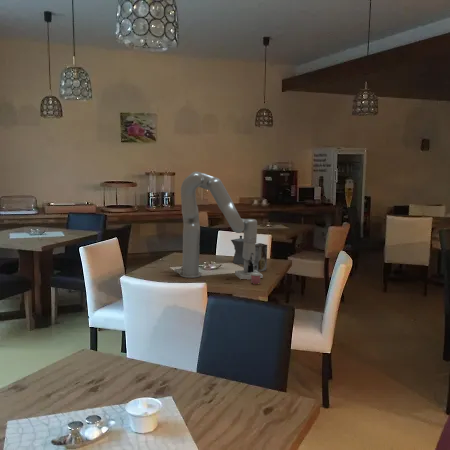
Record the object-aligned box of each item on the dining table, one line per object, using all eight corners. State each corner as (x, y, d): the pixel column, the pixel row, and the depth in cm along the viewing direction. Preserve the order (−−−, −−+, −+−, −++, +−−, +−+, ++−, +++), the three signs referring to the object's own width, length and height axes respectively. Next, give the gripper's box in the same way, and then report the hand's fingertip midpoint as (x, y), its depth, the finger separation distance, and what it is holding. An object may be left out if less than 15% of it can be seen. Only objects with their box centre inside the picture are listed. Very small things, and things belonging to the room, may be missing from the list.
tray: (241, 279, 292) (241, 275, 291) (234, 274, 303) (235, 270, 303) (262, 278, 295) (262, 274, 295) (255, 273, 307) (255, 269, 306)
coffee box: (258, 268, 321) (259, 242, 319) (266, 270, 317) (267, 244, 315) (249, 270, 314) (250, 244, 312) (258, 272, 310) (259, 246, 308)
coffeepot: (228, 263, 331) (229, 236, 328) (230, 260, 340) (231, 233, 337) (252, 265, 329) (253, 237, 326) (253, 262, 338) (255, 235, 335)
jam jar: (252, 285, 282) (253, 274, 281) (249, 282, 287) (250, 272, 286) (261, 284, 283) (262, 274, 282) (258, 282, 288) (258, 271, 287)
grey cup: (245, 273, 295) (245, 261, 294) (242, 271, 301) (242, 259, 300) (255, 273, 297) (255, 261, 296) (251, 270, 303) (252, 259, 302)
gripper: (239, 237, 303) (238, 267, 306) (248, 243, 287) (247, 274, 289) (251, 237, 305) (249, 267, 308) (261, 243, 289) (259, 274, 292)
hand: (248, 270), depth 299 cm, fingers closed on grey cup, 6 cm apart
